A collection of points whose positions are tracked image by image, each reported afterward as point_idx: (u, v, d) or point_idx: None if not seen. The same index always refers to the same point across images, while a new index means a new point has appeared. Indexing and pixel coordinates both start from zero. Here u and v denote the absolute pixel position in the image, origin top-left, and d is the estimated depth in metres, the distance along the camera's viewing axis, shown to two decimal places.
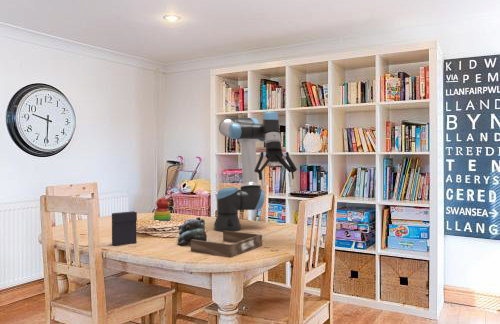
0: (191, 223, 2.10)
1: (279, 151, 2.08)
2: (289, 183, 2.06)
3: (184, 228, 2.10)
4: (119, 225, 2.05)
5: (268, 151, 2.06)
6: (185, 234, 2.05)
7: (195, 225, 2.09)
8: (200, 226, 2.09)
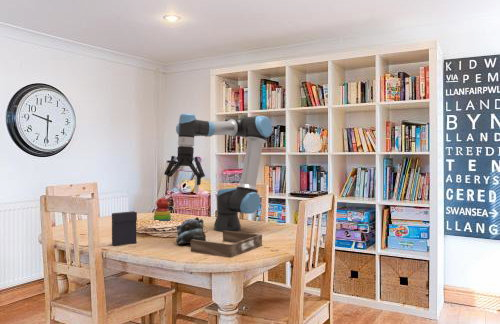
0: (190, 223, 2.09)
1: (188, 156, 2.07)
2: None
3: (183, 228, 2.09)
4: (119, 225, 2.05)
5: (178, 155, 2.09)
6: (184, 234, 2.04)
7: (194, 225, 2.09)
8: (199, 226, 2.09)
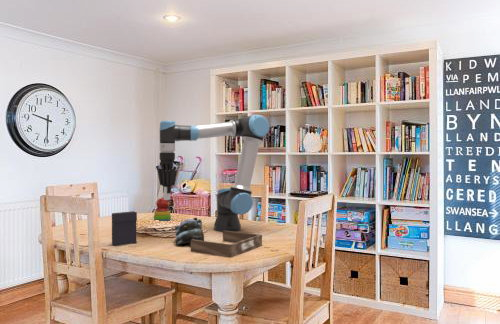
0: (188, 223, 2.09)
1: (169, 161, 2.15)
2: None
3: (181, 228, 2.09)
4: (119, 225, 2.05)
5: (161, 161, 2.17)
6: (183, 234, 2.04)
7: (192, 225, 2.08)
8: (197, 226, 2.09)
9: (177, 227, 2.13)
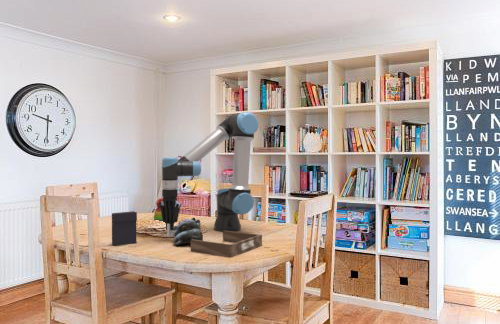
0: (187, 223, 2.09)
1: (172, 198, 2.14)
2: None
3: (180, 229, 2.08)
4: (119, 225, 2.05)
5: (163, 197, 2.17)
6: (181, 235, 2.03)
7: (191, 225, 2.08)
8: (196, 226, 2.08)
9: (175, 227, 2.12)
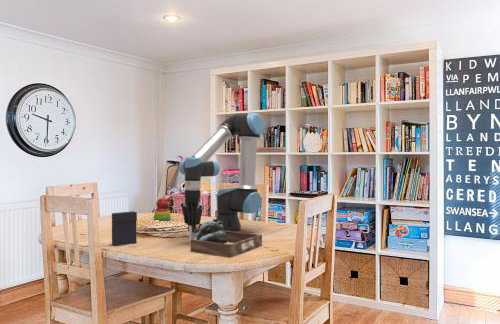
0: (210, 225, 2.03)
1: (194, 199, 2.07)
2: None
3: (203, 231, 2.02)
4: (119, 225, 2.05)
5: (186, 198, 2.10)
6: (208, 237, 1.97)
7: (215, 227, 2.03)
8: (220, 228, 2.04)
9: (197, 230, 2.06)
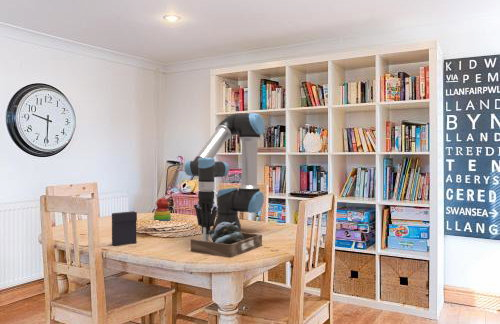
0: (226, 227, 2.00)
1: (209, 200, 2.03)
2: None
3: (219, 232, 1.99)
4: (119, 225, 2.05)
5: (199, 200, 2.06)
6: (225, 238, 1.94)
7: (231, 228, 2.00)
8: (236, 229, 2.01)
9: (212, 231, 2.02)
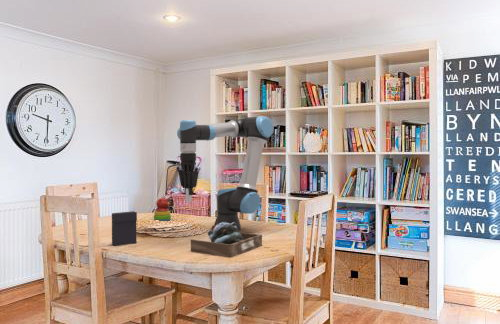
0: (225, 227, 1.99)
1: (190, 162, 2.08)
2: None
3: (218, 233, 1.98)
4: (119, 225, 2.05)
5: (181, 162, 2.11)
6: (224, 239, 1.94)
7: (230, 229, 2.00)
8: (235, 229, 2.01)
9: (210, 232, 2.01)
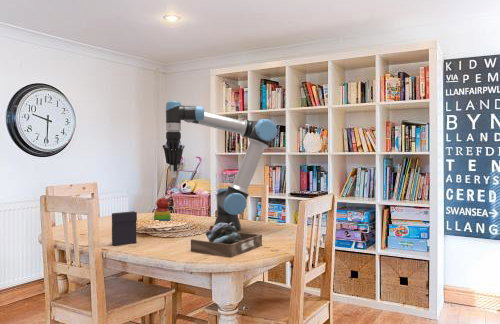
0: (224, 227, 1.98)
1: (175, 140, 2.23)
2: None
3: (217, 233, 1.97)
4: (119, 225, 2.05)
5: (167, 140, 2.26)
6: (223, 239, 1.93)
7: (228, 229, 1.99)
8: (233, 230, 2.00)
9: (209, 232, 2.00)
